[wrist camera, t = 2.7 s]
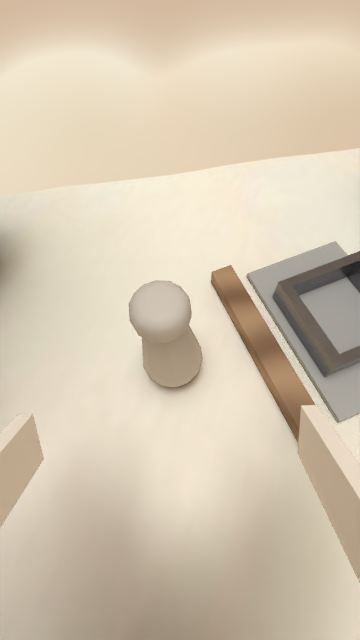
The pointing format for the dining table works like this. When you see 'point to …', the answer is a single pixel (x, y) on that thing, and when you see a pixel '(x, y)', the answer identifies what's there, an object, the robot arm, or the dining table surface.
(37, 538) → the dining table surface
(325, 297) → the keeper plate
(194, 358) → the salt shaker
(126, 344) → the dining table surface
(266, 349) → the door-edge bar
